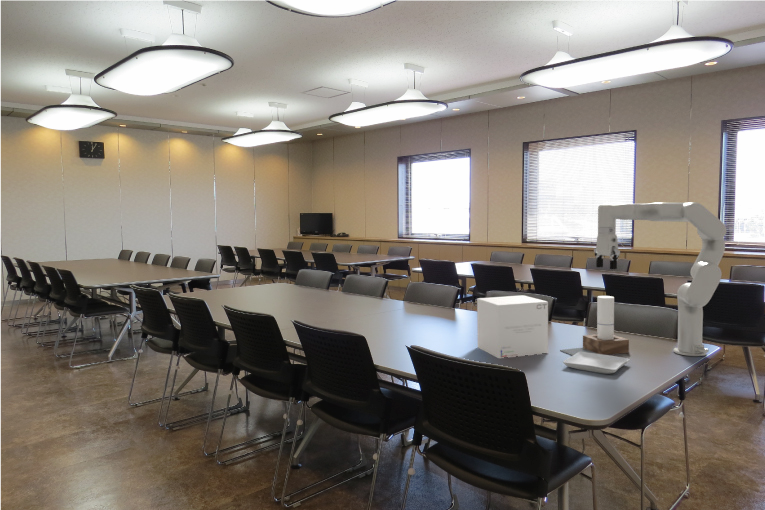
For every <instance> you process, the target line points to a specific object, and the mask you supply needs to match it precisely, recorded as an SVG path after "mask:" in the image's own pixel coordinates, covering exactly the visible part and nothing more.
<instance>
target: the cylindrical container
mask: <svg viewBox="0 0 765 510" xmlns="http://www.w3.org/2000/svg"><path fill="white" fill-rule="evenodd" d="M596 298H597V299H596V301H597V305H596V306H597V307H596V309H597V310H596V317H597V320H596V322H597V323H596V324H597V325H596V327H597V328H596V329H597V330H596V334H597V338H598V339H601V340H612V339H614V335H615V297H614V296H612V295H611V296H610V295H598V296H597V297H596Z"/></svg>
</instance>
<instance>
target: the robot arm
mask: <svg viewBox="0 0 765 510" xmlns="http://www.w3.org/2000/svg"><path fill="white" fill-rule="evenodd" d="M617 220H623V221H625V220H626V221H630V220H631V221H651V222H668V223H669V222H671V223H672V222H676V223H677V222H679V223H680V222H681V223H682V222H683V223H687V222H688V223H690V224H691V225H692V226H694V227H695V228H696V232H697V235H698V236H699V238H700V239H701V242H702V244H701V248H700V252H699V254H698V255H697V257H696V259H695V261H694V263H693V265H692V266H691V268H690V273H689V274H690V276H691V277H692V281H691V282H686V283H683V284H681V285H680V286H679V287H678V289H677V292H676V293H677V294H676V299H677V311H678V312H677V314H678V315H677V316H678V317H677V347H674V348H673V352H674V353H675V354H677V355H681V356H682V355H683V356H687V357H704V356H706V355H707V353H709V348H705V344H703V323H704V321H703V319H704V310H703V307H705V306H706V305H707V304H708V303H709V302H710V300H711V299H712V297H713V296H714V293H715V291H716V290H717V288H718V286H719V284H720V282H721V279H722V275H723V274H722V270H721V268H720V267H719V264H720V262H721V260H722V258H723V256H724V254H725V252H726V251H725V250H726V241H725V239H724V237H725V236H726V235H727V226H726V225H725V224H724V222H722V221H721V219H719V217H717V216H716V215H715V214H713V213H712V212H711V211H710V210H708V208H707V207H705V206H704V205H703V204H701V203H700V202H694V201H693V202H691V201H690V202H662V201H661V202H651V203H628V202H627V203H626V202H624V203H618V204H612V203H609V204H608V203H603V204H599V206H598V208H597V237H596V247H595V248H594V249H593V252H594V256H595V261H596V263H595V265H596V268H604V258H603V257H609V258H610V260H609V270H617V267H618V260H619V258H620V253H621V250H620V249H619V242H618V235H617V234H616V232H617V231H616V224H617Z"/></svg>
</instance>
